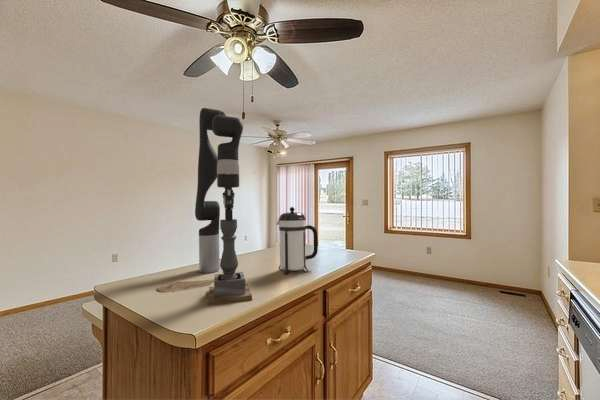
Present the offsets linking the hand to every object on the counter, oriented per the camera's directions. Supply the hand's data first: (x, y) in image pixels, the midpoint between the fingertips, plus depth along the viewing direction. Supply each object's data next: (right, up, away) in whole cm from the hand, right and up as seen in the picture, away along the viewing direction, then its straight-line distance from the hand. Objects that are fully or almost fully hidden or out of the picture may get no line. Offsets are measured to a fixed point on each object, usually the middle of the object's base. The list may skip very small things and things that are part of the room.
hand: (228, 219), depth 96 cm
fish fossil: (-17, -27, +13) cm, 35 cm away
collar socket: (0, -26, 0) cm, 26 cm away
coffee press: (+23, -27, +34) cm, 48 cm away
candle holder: (0, -25, 0) cm, 25 cm away
